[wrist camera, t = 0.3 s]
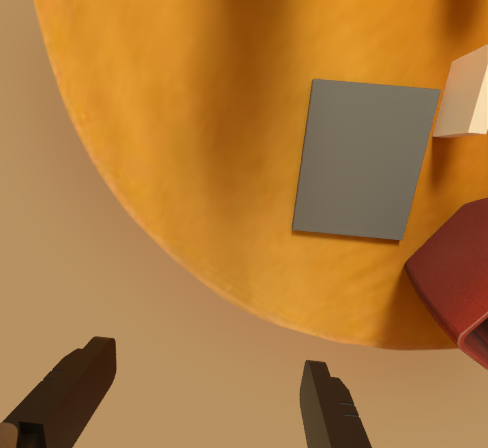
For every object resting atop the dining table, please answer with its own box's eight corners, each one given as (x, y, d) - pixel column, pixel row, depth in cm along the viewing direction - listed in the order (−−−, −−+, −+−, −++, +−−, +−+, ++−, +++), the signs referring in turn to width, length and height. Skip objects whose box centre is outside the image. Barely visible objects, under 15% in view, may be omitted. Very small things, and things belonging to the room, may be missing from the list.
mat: (312, 80, 33) (313, 78, 33) (436, 91, 33) (440, 89, 32) (291, 228, 38) (292, 229, 38) (399, 238, 38) (402, 240, 37)
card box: (451, 61, 32) (494, 40, 26) (468, 63, 32) (515, 42, 26) (432, 136, 35) (467, 132, 29) (447, 138, 35) (487, 134, 29)
